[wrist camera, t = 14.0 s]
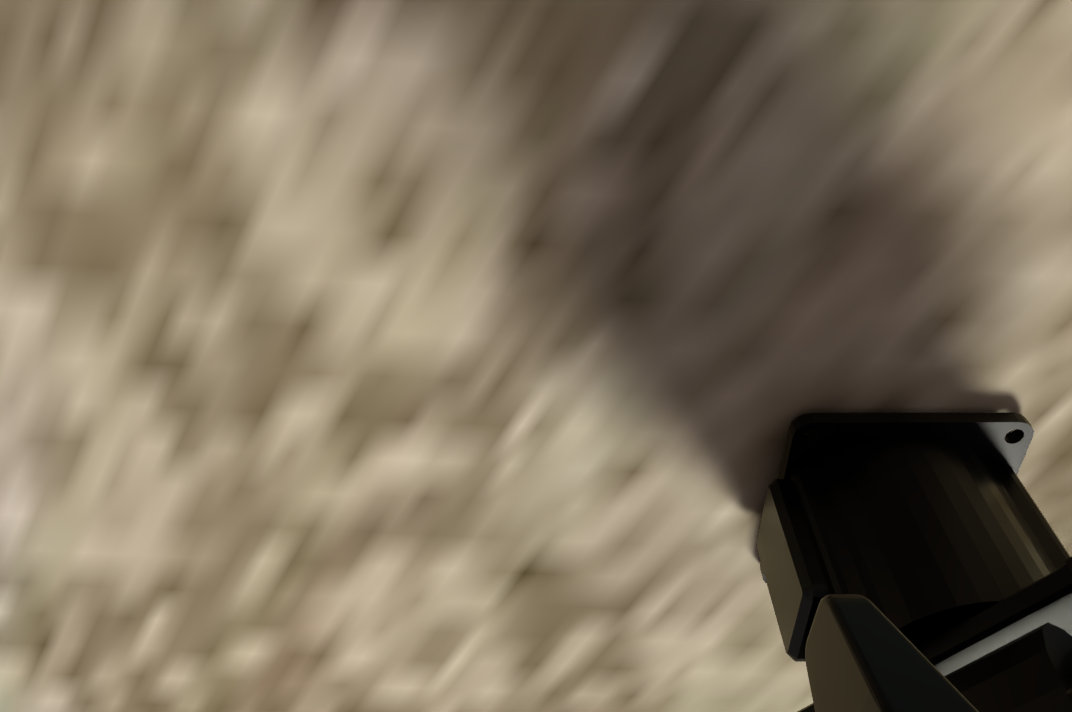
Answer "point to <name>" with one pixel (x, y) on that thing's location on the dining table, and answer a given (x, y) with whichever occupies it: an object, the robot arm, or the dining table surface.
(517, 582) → the dining table surface
